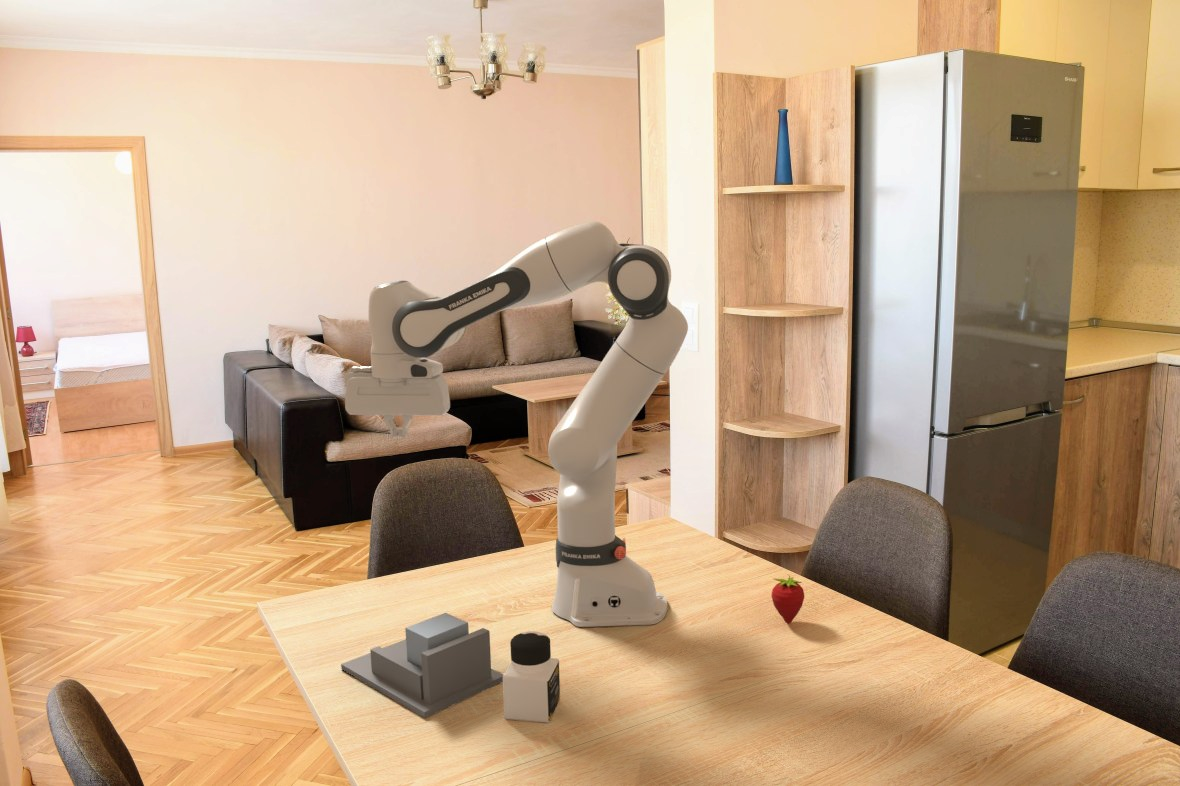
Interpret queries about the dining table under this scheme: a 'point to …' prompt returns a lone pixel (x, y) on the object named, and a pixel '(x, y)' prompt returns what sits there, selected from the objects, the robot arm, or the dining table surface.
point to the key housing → (429, 673)
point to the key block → (432, 635)
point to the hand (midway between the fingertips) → (399, 437)
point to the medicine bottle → (531, 679)
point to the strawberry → (788, 598)
